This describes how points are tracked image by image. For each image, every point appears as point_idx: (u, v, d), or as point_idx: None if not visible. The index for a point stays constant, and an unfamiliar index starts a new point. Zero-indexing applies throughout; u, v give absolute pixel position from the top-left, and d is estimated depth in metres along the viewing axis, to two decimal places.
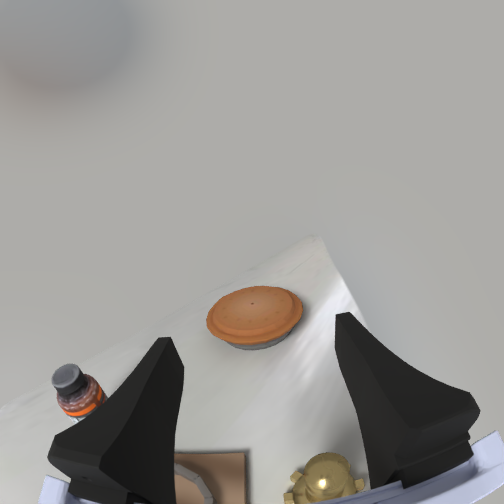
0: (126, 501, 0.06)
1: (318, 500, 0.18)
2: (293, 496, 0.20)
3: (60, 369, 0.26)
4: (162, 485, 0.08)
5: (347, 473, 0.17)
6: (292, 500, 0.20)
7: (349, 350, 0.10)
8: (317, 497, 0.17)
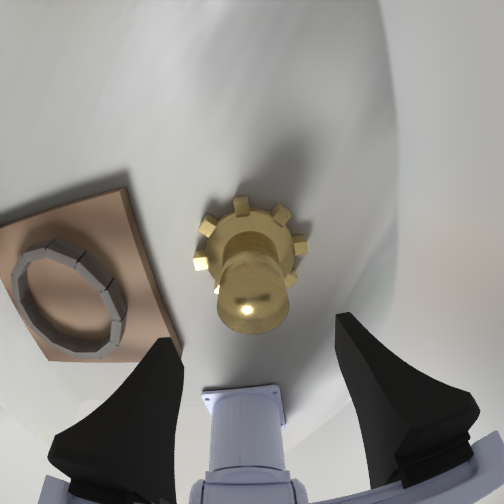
0: (126, 501, 0.06)
1: None
2: (207, 263, 0.20)
3: None
4: (162, 485, 0.08)
5: (284, 314, 0.15)
6: None
7: (349, 350, 0.10)
8: None
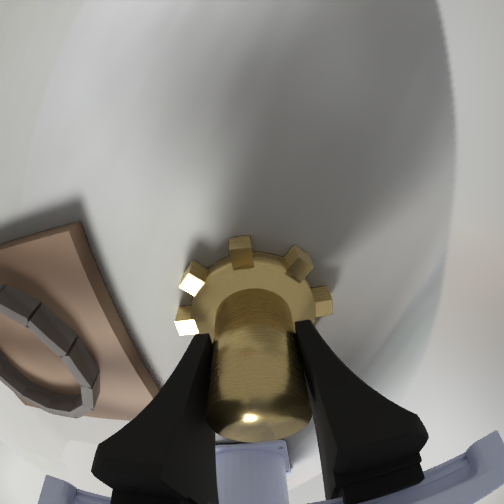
0: None
1: None
2: (194, 327, 0.14)
3: None
4: (208, 488, 0.08)
5: (304, 424, 0.09)
6: None
7: (304, 359, 0.10)
8: None
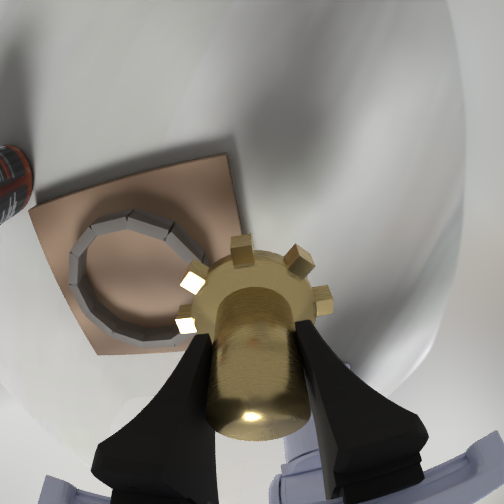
0: None
1: None
2: (195, 326, 0.14)
3: None
4: (208, 487, 0.08)
5: (303, 423, 0.09)
6: None
7: (304, 359, 0.10)
8: None
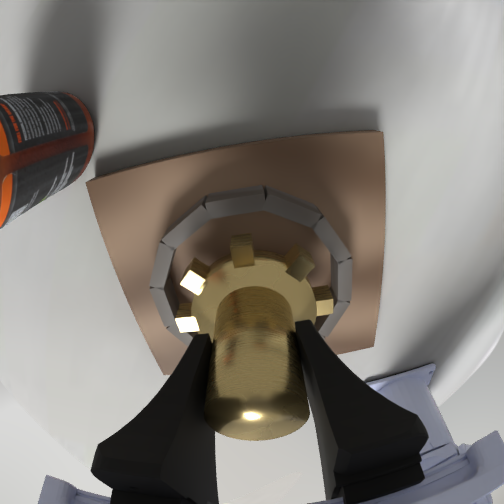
0: None
1: None
2: (195, 324, 0.14)
3: None
4: (208, 488, 0.08)
5: (301, 423, 0.09)
6: None
7: (304, 359, 0.10)
8: None
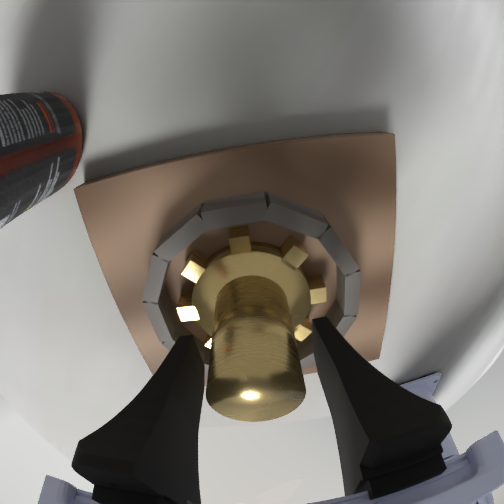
0: None
1: None
2: (195, 314, 0.15)
3: None
4: (188, 487, 0.08)
5: (298, 402, 0.10)
6: None
7: (323, 355, 0.10)
8: None
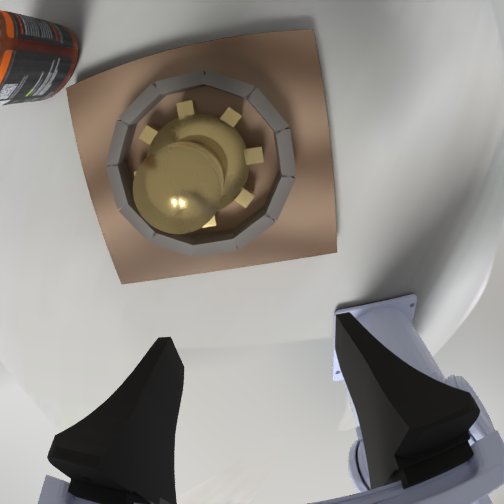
0: (126, 501, 0.06)
1: None
2: None
3: None
4: (162, 485, 0.08)
5: (216, 202, 0.12)
6: None
7: (349, 350, 0.10)
8: None
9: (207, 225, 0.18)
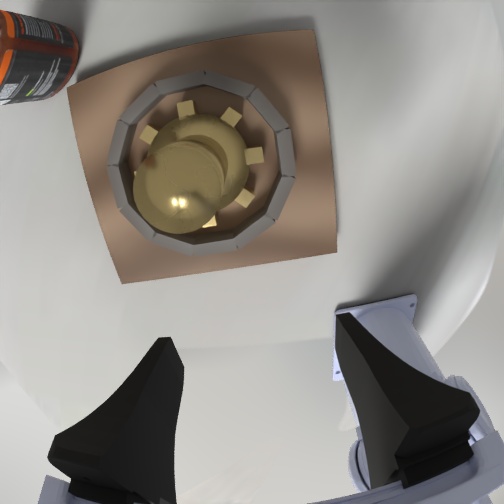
0: (126, 501, 0.06)
1: None
2: None
3: None
4: (162, 485, 0.08)
5: (216, 201, 0.12)
6: None
7: (349, 350, 0.10)
8: None
9: (207, 225, 0.18)
